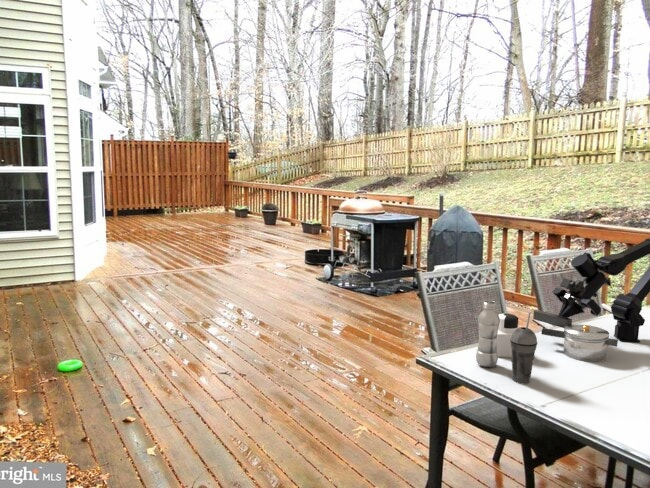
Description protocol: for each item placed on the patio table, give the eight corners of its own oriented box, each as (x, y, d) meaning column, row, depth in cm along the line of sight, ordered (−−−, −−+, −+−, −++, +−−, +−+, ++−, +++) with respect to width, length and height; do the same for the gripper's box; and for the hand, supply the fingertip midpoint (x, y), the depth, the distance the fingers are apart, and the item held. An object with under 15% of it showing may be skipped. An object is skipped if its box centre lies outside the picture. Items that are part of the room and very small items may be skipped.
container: (514, 349, 172) (516, 312, 170) (520, 358, 164) (523, 318, 162) (490, 348, 173) (492, 311, 171) (496, 357, 165) (498, 318, 163)
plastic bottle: (497, 363, 160) (501, 300, 157) (497, 371, 153) (501, 306, 151) (476, 360, 162) (479, 298, 159) (474, 368, 156) (478, 304, 153)
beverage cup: (503, 375, 150) (507, 309, 147) (527, 375, 151) (531, 308, 148) (514, 386, 143) (519, 316, 140) (539, 385, 144) (544, 316, 141)
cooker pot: (617, 354, 168) (619, 334, 167) (614, 367, 157) (616, 345, 156) (544, 341, 180) (546, 322, 179) (537, 352, 169) (538, 332, 168)
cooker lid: (617, 336, 164) (618, 326, 164) (593, 343, 158) (594, 333, 157) (547, 316, 186) (547, 307, 186) (523, 321, 179) (524, 312, 179)
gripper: (558, 265, 184) (529, 296, 183) (596, 275, 166) (563, 310, 165) (576, 285, 187) (547, 316, 186) (615, 298, 169) (583, 332, 168)
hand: (559, 318), depth 176 cm, fingers closed
